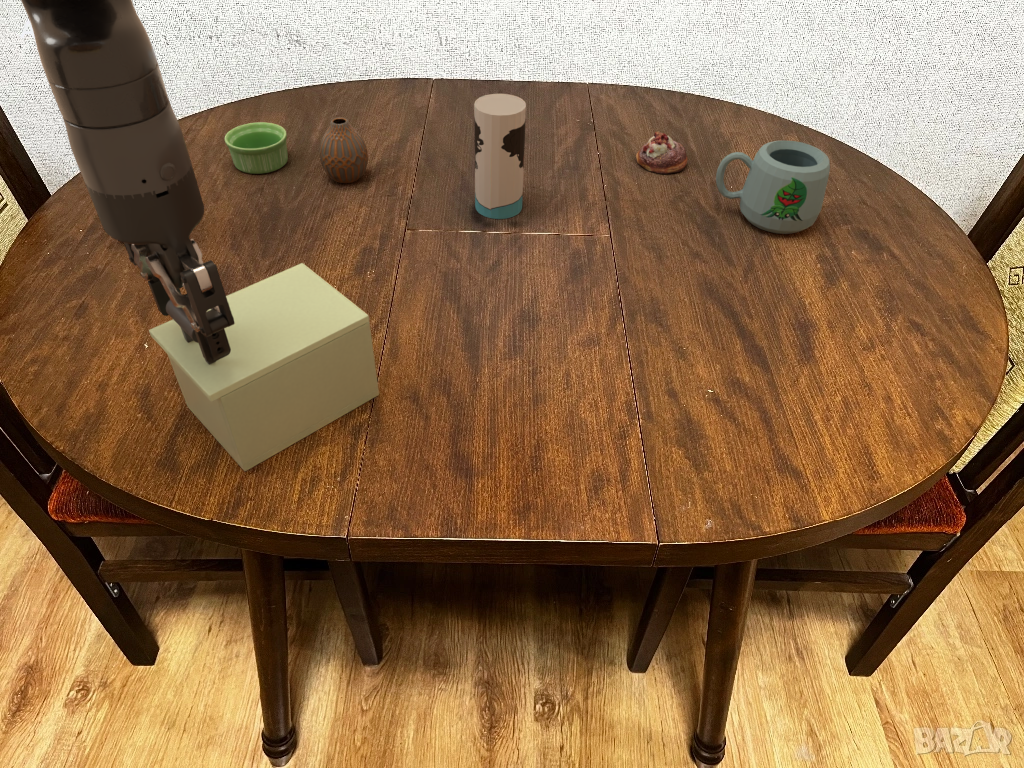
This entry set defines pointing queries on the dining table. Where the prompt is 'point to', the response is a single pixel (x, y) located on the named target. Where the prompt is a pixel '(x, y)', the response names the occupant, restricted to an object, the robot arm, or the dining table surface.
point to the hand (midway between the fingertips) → (195, 333)
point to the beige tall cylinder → (499, 155)
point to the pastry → (662, 155)
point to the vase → (343, 152)
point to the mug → (780, 185)
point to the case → (288, 398)
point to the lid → (262, 329)
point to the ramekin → (258, 147)
